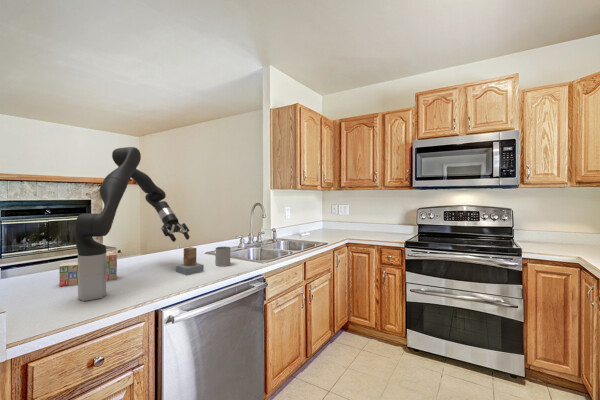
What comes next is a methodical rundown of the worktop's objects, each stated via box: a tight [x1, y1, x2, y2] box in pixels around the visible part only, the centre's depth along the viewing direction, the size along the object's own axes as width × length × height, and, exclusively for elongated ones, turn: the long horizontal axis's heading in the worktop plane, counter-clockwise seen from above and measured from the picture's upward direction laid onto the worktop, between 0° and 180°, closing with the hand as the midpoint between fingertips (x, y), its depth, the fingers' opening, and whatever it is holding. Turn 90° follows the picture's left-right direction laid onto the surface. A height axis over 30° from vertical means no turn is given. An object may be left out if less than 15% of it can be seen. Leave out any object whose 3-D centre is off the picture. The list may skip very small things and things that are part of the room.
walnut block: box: [182, 246, 197, 267], centre depth 153 cm, size 4×4×9 cm
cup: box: [214, 246, 231, 268], centre depth 169 cm, size 8×8×10 cm
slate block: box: [175, 262, 205, 276], centre depth 154 cm, size 10×10×4 cm
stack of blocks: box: [58, 252, 118, 288], centre depth 135 cm, size 21×6×12 cm, turn 124°
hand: (181, 239), depth 157 cm, fingers open, 8 cm apart
